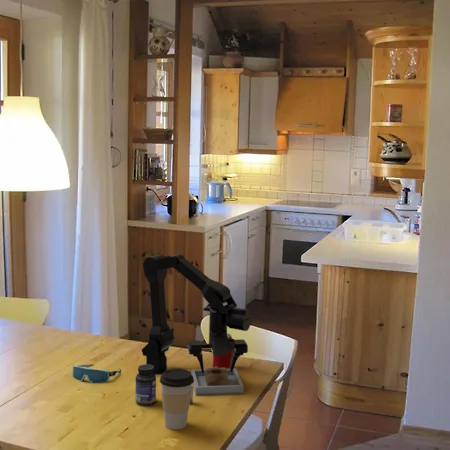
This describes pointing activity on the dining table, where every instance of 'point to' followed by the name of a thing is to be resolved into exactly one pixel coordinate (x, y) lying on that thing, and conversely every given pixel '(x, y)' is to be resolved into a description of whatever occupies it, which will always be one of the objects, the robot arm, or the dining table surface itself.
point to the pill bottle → (145, 385)
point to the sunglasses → (92, 374)
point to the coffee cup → (176, 397)
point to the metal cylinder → (191, 396)
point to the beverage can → (223, 359)
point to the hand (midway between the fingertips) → (217, 372)
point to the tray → (232, 388)
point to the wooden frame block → (216, 376)
